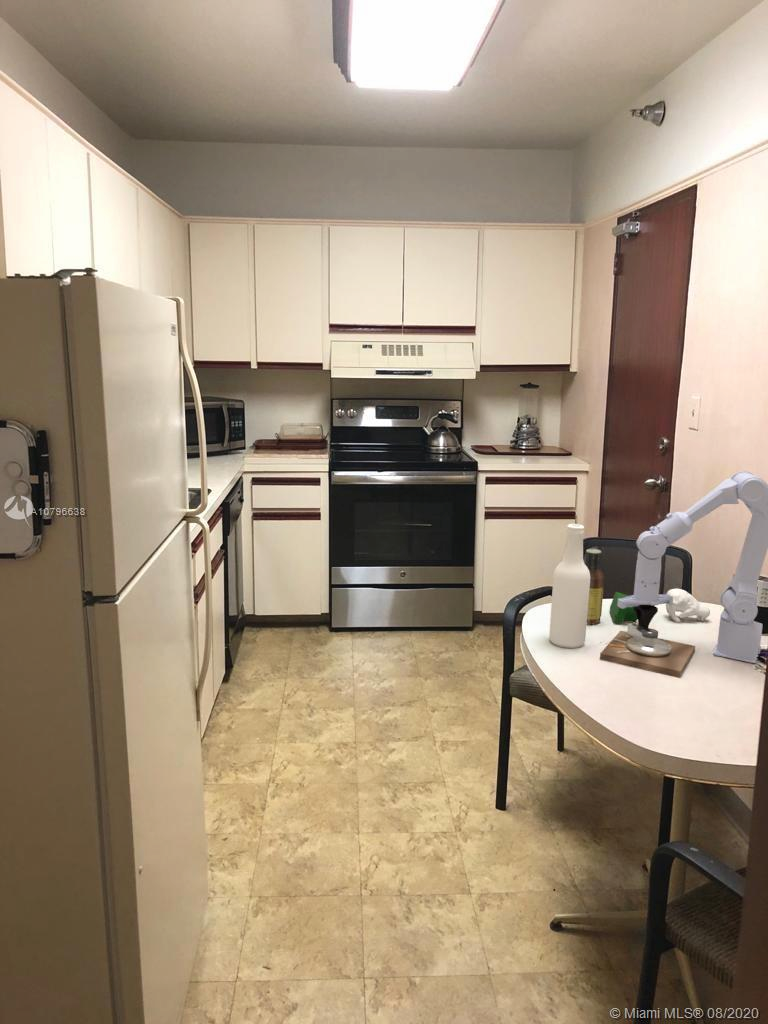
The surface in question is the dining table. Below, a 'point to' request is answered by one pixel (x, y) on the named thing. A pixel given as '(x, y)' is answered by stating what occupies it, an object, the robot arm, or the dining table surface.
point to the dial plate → (663, 664)
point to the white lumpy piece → (686, 606)
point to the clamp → (621, 610)
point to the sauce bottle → (594, 586)
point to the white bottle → (570, 593)
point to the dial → (646, 641)
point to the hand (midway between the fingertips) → (642, 633)
